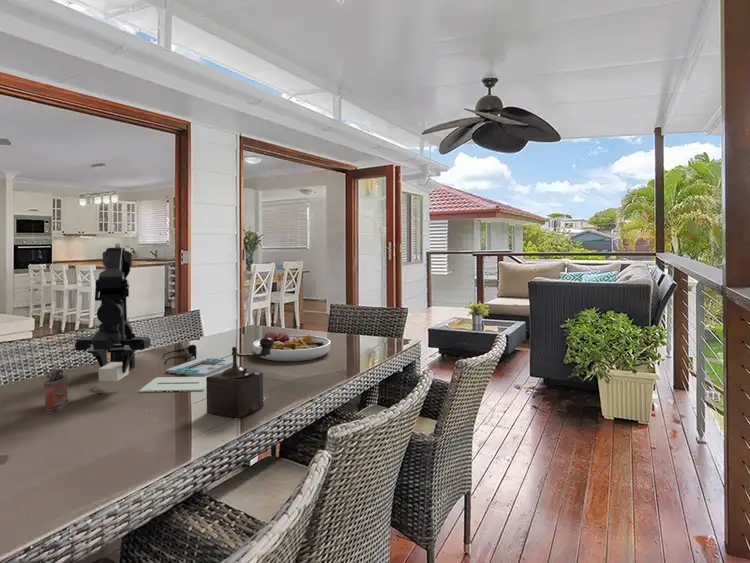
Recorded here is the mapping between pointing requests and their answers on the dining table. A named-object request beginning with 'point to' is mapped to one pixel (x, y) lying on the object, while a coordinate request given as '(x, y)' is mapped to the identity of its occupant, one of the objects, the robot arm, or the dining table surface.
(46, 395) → the lighter
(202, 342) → the dining table surface
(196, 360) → the electronic device
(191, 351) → the sunglasses
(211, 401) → the manual coffee grinder
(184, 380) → the mat
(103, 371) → the block
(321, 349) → the bowl
